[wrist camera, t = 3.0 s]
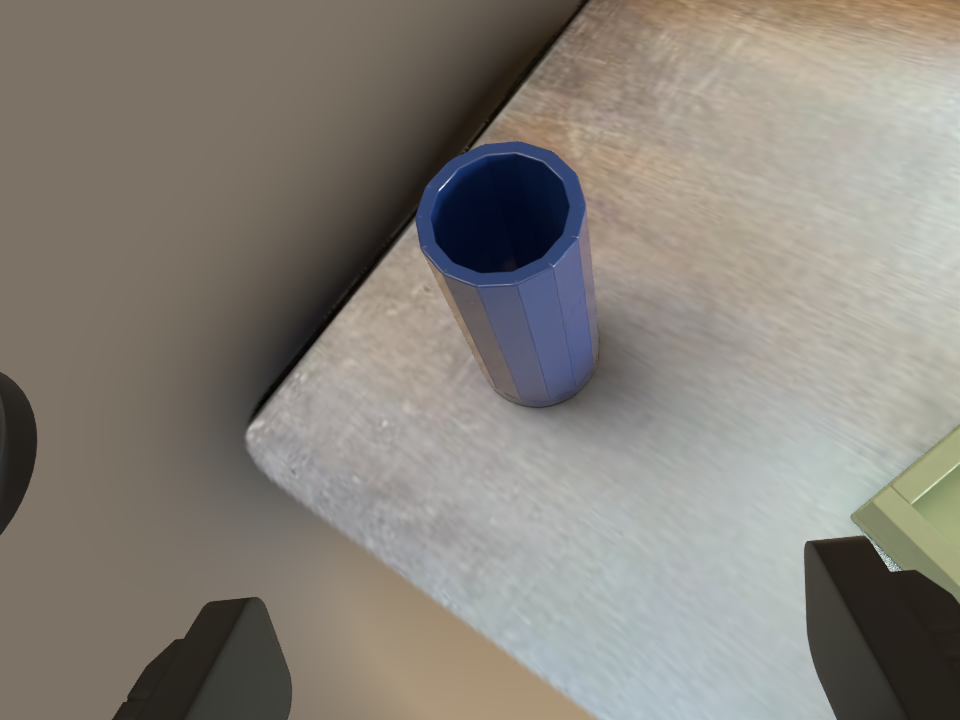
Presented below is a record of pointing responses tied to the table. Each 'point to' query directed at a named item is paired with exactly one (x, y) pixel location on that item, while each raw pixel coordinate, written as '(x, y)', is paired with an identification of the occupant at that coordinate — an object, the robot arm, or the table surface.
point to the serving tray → (921, 515)
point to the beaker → (515, 268)
